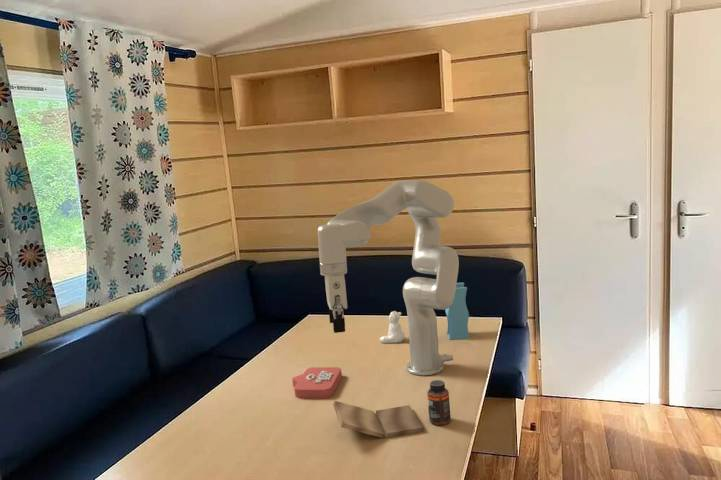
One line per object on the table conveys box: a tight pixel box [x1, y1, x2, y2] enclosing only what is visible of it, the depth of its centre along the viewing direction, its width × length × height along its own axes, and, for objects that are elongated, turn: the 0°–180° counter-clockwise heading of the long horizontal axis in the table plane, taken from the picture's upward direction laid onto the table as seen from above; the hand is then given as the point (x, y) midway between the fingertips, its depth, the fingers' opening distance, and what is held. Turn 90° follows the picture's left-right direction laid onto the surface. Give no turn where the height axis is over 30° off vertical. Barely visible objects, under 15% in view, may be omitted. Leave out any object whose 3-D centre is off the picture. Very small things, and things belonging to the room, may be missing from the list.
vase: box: [444, 282, 470, 341], centre depth 232 cm, size 8×8×20 cm
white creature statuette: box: [379, 310, 405, 344], centre depth 233 cm, size 10×9×12 cm
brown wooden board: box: [374, 404, 424, 439], centre depth 169 cm, size 11×14×1 cm
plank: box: [332, 400, 384, 439], centre depth 166 cm, size 12×14×1 cm
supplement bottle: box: [426, 379, 451, 426], centre depth 167 cm, size 6×6×11 cm
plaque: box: [291, 366, 343, 399], centre depth 198 cm, size 18×4×15 cm
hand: (337, 327), depth 172 cm, fingers open, 9 cm apart
